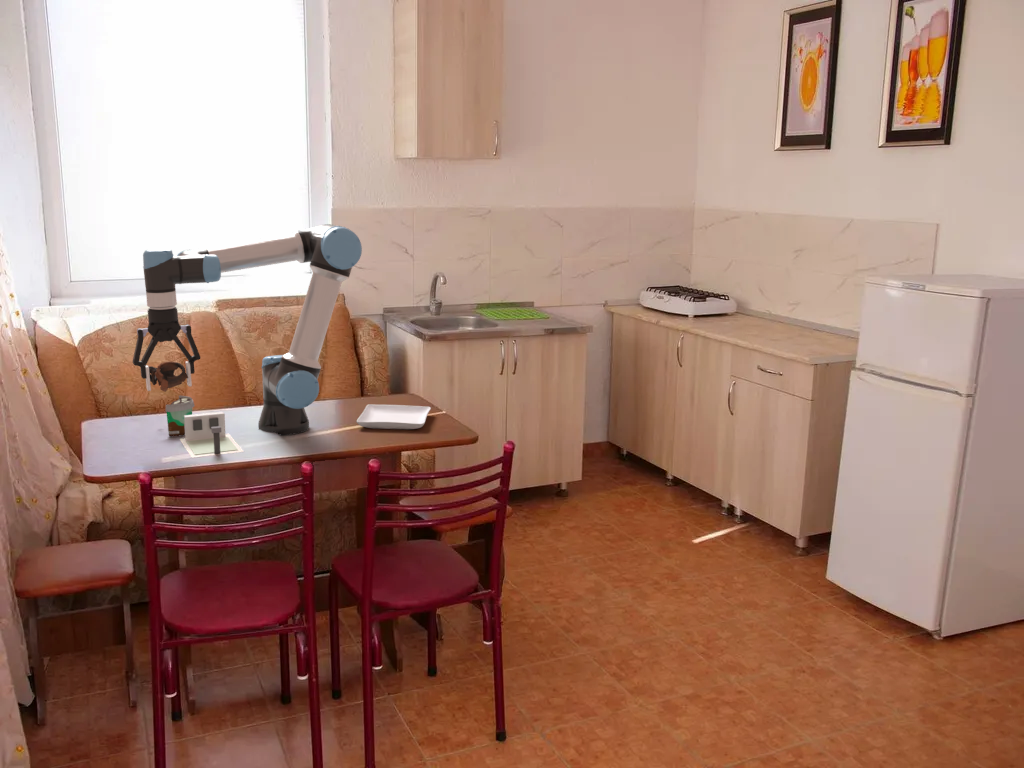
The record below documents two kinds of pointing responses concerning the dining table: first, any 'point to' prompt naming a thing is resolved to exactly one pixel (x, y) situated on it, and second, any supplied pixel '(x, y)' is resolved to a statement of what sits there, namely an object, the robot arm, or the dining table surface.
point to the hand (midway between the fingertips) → (169, 387)
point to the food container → (178, 415)
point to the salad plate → (393, 416)
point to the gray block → (216, 438)
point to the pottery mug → (167, 375)
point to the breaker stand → (207, 436)
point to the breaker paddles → (198, 423)
